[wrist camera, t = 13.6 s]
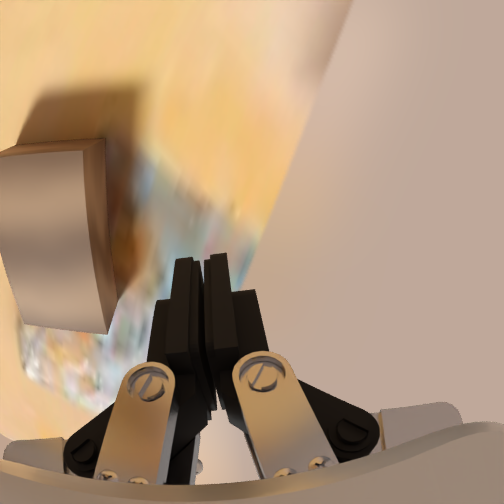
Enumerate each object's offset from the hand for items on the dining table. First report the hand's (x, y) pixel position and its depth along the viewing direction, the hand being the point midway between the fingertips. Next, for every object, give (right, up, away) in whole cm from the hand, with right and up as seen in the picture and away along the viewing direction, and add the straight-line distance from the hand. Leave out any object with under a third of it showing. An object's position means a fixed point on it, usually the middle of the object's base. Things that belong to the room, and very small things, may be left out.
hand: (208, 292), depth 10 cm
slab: (-11, +3, +8) cm, 14 cm away
